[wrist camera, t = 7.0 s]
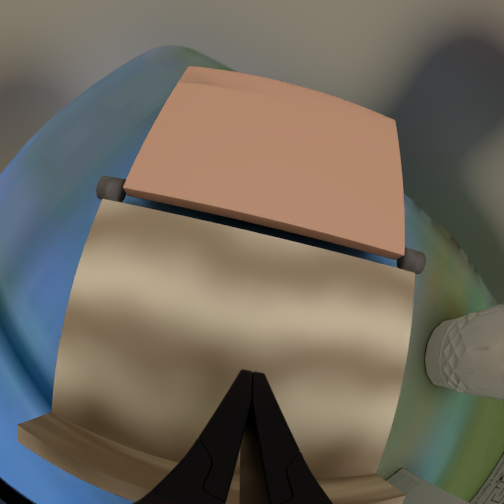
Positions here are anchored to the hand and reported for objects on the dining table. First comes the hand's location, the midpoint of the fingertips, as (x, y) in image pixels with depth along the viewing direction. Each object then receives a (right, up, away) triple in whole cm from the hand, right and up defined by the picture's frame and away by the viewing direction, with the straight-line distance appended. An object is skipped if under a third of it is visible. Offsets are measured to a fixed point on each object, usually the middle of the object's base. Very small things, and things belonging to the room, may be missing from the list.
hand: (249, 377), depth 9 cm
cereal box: (+36, -30, +6) cm, 47 cm away
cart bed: (-1, -3, +9) cm, 10 cm away
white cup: (+19, -5, +11) cm, 23 cm away
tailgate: (+1, +6, +8) cm, 10 cm away
